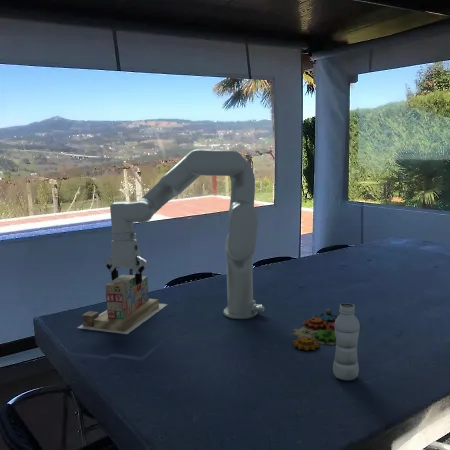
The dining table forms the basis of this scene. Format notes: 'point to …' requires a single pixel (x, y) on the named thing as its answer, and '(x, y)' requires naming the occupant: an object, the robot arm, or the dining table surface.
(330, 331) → the gear puzzle
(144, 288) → the stack of blocks
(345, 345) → the plastic bottle
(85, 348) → the dining table surface
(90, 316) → the walnut cube
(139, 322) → the cream tile
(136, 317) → the oak plinth
